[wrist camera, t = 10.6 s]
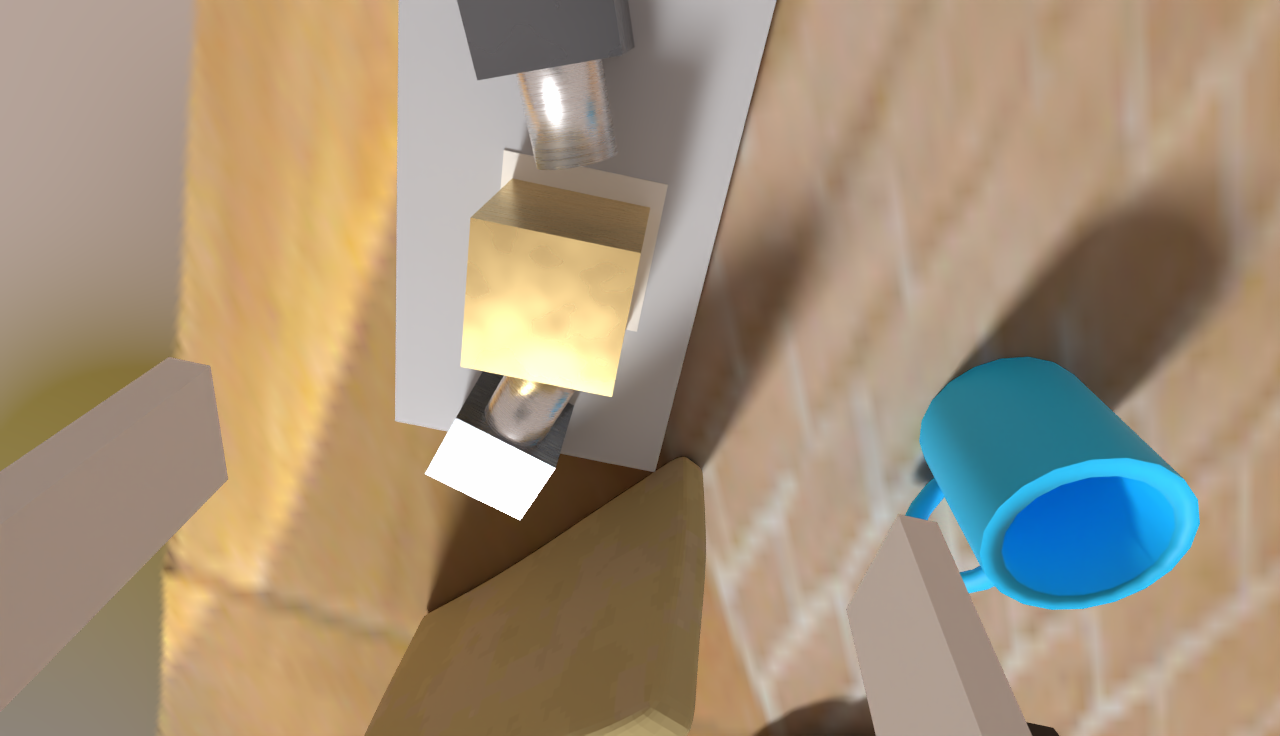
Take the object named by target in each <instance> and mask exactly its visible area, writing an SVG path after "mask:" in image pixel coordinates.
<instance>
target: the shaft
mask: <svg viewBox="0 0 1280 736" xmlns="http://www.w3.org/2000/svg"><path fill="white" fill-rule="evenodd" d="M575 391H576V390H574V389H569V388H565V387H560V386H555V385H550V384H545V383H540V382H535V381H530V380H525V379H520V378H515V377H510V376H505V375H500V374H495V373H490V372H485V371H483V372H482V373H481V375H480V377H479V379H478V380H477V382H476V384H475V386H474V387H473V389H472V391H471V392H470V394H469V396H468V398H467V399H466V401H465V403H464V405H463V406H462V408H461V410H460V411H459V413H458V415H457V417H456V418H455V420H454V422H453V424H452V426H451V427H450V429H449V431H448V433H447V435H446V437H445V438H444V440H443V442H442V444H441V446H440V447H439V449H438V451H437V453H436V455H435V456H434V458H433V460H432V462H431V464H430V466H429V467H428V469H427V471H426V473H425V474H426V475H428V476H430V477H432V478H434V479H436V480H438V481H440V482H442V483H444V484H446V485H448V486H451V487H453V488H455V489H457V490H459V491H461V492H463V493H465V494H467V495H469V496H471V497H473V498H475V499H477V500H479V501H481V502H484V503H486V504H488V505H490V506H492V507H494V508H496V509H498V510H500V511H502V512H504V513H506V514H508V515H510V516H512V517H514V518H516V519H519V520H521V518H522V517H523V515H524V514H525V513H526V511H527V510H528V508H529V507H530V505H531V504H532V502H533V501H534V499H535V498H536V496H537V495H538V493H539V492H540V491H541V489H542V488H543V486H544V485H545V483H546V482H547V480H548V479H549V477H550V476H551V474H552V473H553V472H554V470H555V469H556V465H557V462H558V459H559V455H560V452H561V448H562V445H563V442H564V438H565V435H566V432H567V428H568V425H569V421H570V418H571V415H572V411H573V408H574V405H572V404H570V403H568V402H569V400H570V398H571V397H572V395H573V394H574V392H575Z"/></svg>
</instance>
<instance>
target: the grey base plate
mask: <svg viewBox="0 0 1280 736" xmlns="http://www.w3.org/2000/svg"><path fill="white" fill-rule="evenodd" d="M628 4H629V10H630V17H631V24H632V31H633V38H634V45H635V47H634V48H633V49H631V50H630V51H628V52H627V53H625V54H623V55H621V56H615V57H609V58H603V59H602V64H603V69H604V75H605V81H606V87H607V93H608V99H609V105H610V111H611V117H612V123H613V128H614V134H615V140H616V146H617V152H618V153H617V154H616V155H615V156H613V157H611V158H609V159H607V160H604V161H601V162H597V163H593V164H589V165H585V166H580V167H575V168H568V169H560V170H540V169H537V167H536V162H535V158H534V154H533V149H532V145H531V140H530V136H529V132H528V127H527V123H526V119H525V114H524V110H523V105H522V101H521V97H520V92H519V88H518V83H517V79H516V75H515V74H512V75H506V76H500V77H494V78H489V79H483V80H477V77H476V73H475V70H474V66H473V62H472V58H471V54H470V50H469V46H468V42H467V38H466V34H465V30H464V26H463V22H462V18H461V15H460V11H459V7H458V3H457V0H399V27H398V147H397V266H396V385H395V421H398V422H403V423H408V424H413V425H418V426H423V427H428V428H433V429H438V430H443V431H449V429H450V427H451V426H452V424H453V422H454V420H455V418H456V417H457V415H458V413H459V411H460V410H461V408H462V406H463V405H464V403H465V401H466V399H467V398H468V396H469V394H470V392H471V391H472V389H473V387H474V386H475V384H476V382H477V380H478V379H479V377H480V375H481V373H482V372H483V371H480V370H475V369H470V368H465V367H461V353H462V337H463V322H464V307H465V292H466V277H467V261H468V246H469V231H470V217H472V216H473V215H474V214H475V213H476V212H477V211H478V210H479V209H480V208H481V207H482V206H483V205H484V204H485V203H486V202H488V201H489V200H490V199H491V198H492V197H493V196H494V195H495V194H496V193H497V192H498V191H499V190H500V189H501V188H503V187H504V186H505V185H506V184H507V183H508V182H509V181H510V180H511V179H512V178H513V179H518V180H522V181H527V182H532V183H536V184H541V185H546V186H551V187H555V188H560V189H565V190H570V191H574V192H579V193H584V194H588V195H593V196H598V197H603V198H607V199H612V200H617V201H622V202H626V203H631V204H636V205H640V206H645V207H650V212H649V217H648V222H647V227H646V232H645V237H644V242H643V246H642V251H641V256H640V261H639V266H638V271H637V276H636V281H635V286H634V291H633V296H632V301H631V306H630V311H629V316H628V320H627V325H626V330H625V335H624V340H623V345H622V350H621V355H620V360H619V364H618V369H617V374H616V379H615V384H614V389H613V394H612V397H609V396H604V395H599V394H594V393H589V392H584V391H579V390H576V391H575V392H574V394H573V395H572V397H571V398H570V400H569V402H568V403H570V404H572V405H574V408H573V411H572V415H571V418H570V421H569V425H568V428H567V432H566V435H565V438H564V442H563V445H562V448H561V452H560V454H565V455H570V456H575V457H580V458H585V459H590V460H595V461H600V462H605V463H610V464H615V465H620V466H626V467H631V468H636V469H641V470H646V471H651V472H655V470H656V466H657V462H658V459H659V455H660V451H661V447H662V443H663V439H664V435H665V431H666V427H667V424H668V420H669V416H670V412H671V408H672V404H673V400H674V396H675V392H676V389H677V385H678V381H679V377H680V373H681V369H682V365H683V361H684V358H685V354H686V350H687V346H688V342H689V338H690V334H691V330H692V326H693V323H694V319H695V315H696V311H697V307H698V303H699V299H700V295H701V291H702V288H703V284H704V280H705V276H706V272H707V268H708V264H709V260H710V256H711V253H712V249H713V245H714V241H715V237H716V233H717V229H718V225H719V222H720V218H721V214H722V210H723V206H724V202H725V198H726V194H727V190H728V187H729V183H730V179H731V175H732V171H733V167H734V163H735V159H736V155H737V152H738V148H739V144H740V140H741V136H742V132H743V128H744V124H745V121H746V117H747V113H748V109H749V105H750V101H751V97H752V93H753V89H754V86H755V82H756V78H757V74H758V70H759V66H760V62H761V58H762V54H763V51H764V47H765V43H766V39H767V35H768V31H769V27H770V23H771V20H772V16H773V12H774V8H775V4H776V0H628Z"/></svg>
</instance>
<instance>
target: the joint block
mask: <svg viewBox="0 0 1280 736" xmlns="http://www.w3.org/2000/svg"><path fill="white" fill-rule="evenodd" d="M649 212H650V207H645V206H640V205H636V204H631V203H626V202H622V201H617V200H612V199H607V198H603V197H598V196H593V195H588V194H584V193H579V192H574V191H570V190H565V189H560V188H555V187H551V186H546V185H541V184H536V183H532V182H527V181H522V180H518V179H513V178H512V179H511V180H510V181H509V182H508V183H507V184H506V185H505V186H504V187H503V188H501V189H500V190H499V191H498V192H497V193H496V194H495V195H494V196H493V197H492V198H491V199H490V200H489V201H488V202H486V203H485V204H484V205H483V206H482V207H481V208H480V209H479V210H478V211H477V212H476V213H475V214H474V215H473V216H472V217H470V231H469V246H468V261H467V277H466V292H465V307H464V322H463V337H462V353H461V367H465V368H470V369H475V370H480V371H485V372H490V373H495V374H500V375H505V376H510V377H515V378H520V379H525V380H530V381H535V382H540V383H545V384H550V385H555V386H560V387H565V388H569V389H574V390H579V391H584V392H589V393H594V394H599V395H604V396H609V397H612V394H613V389H614V384H615V379H616V374H617V369H618V364H619V360H620V355H621V350H622V345H623V340H624V335H625V330H626V325H627V320H628V316H629V311H630V306H631V301H632V296H633V291H634V286H635V281H636V276H637V271H638V266H639V261H640V256H641V251H642V246H643V242H644V237H645V232H646V227H647V222H648V217H649Z"/></svg>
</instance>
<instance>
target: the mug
mask: <svg viewBox="0 0 1280 736" xmlns="http://www.w3.org/2000/svg"><path fill="white" fill-rule="evenodd" d="M920 445H921V448H922V451H923V454H924V458H925V460H926V462H927V464H928V466H929V468H930V470H931V472H932V474H933V476H934V478H933V479H932V480H931V481H930V482H928V483H927V484H926V485H925V487H924V488H923V489H922V491H921V492H920V493H919V494H918V496H917V497H916V498H915V499H914V501H913V502H912V503H911V505H910V507H909V509H908V511H907V513H906V514H905V516H910V517H914V518H919V519H924V520H928V518H929V516H930V514H931V513H932V512H933V510H934V509H935V508H936V507H937V505H938V504H939V503H940V502H941V500H942V499H943V498H944V497H945V499H946V501H947V503H948V504H949V506H950V508H951V510H952V512H953V514H954V516H955V518H956V520H957V522H958V524H959V526H960V527H961V529H962V531H963V533H964V535H965V537H966V539H967V541H968V543H969V545H970V547H971V548H972V550H973V552H974V554H975V556H976V558H977V560H978V562H979V564H980V566H979V567H977V568H975V569H973V570H968V571H964V572H960V575H961V577H962V579H963V582H964V584H965V586H966V588H967V591H968V593H973V592H977V591H982V590H987V589H989V588H991V587H993V586H995V587H996V588H997V589H998V590H999V591H1000V592H1001V593H1003V594H1005V595H1007V596H1009V597H1011V598H1013V599H1015V600H1017V601H1018V602H1020V603H1022V604H1026V605H1031V606H1036V607H1041V608H1046V609H1051V610H1055V609H1084V608H1089V607H1093V606H1098V605H1102V604H1107V603H1111V602H1115V601H1118V600H1120V599H1122V598H1125V597H1127V596H1129V595H1132V594H1134V593H1136V592H1138V591H1141V590H1143V589H1145V588H1147V587H1148V586H1150V585H1151V584H1152V583H1154V582H1155V581H1157V580H1158V579H1160V578H1161V577H1162V576H1164V575H1165V574H1167V573H1168V572H1169V571H1171V570H1172V569H1173V568H1174V567H1175V565H1176V564H1177V563H1178V562H1179V561H1180V559H1181V558H1182V557H1183V556H1184V555H1185V554H1186V552H1187V551H1188V550H1189V549H1190V548H1191V545H1192V542H1193V540H1194V537H1195V535H1196V532H1197V529H1198V527H1199V524H1200V520H1199V508H1198V499H1197V498H1196V496H1195V495H1194V493H1193V492H1192V490H1191V489H1190V487H1189V486H1188V484H1187V483H1186V481H1185V480H1184V479H1183V478H1182V477H1181V476H1180V475H1179V474H1178V473H1177V472H1176V471H1175V470H1174V469H1173V468H1172V467H1171V466H1170V465H1169V464H1167V463H1166V462H1165V461H1164V460H1163V459H1162V458H1161V457H1160V456H1159V455H1158V454H1157V453H1156V452H1155V451H1154V450H1153V449H1152V448H1151V447H1150V446H1149V445H1147V444H1146V443H1145V442H1144V441H1143V440H1142V439H1141V438H1140V437H1139V436H1138V435H1137V434H1136V433H1135V432H1134V431H1133V430H1132V429H1131V428H1130V427H1129V426H1127V425H1126V424H1125V423H1124V422H1123V421H1122V420H1121V419H1120V418H1119V417H1118V416H1117V415H1116V414H1115V413H1114V412H1113V411H1112V410H1111V409H1110V408H1109V407H1107V406H1106V405H1105V404H1104V403H1103V402H1102V401H1101V400H1100V399H1099V398H1098V397H1097V396H1096V395H1095V394H1094V393H1093V392H1092V391H1091V390H1090V389H1089V388H1087V387H1086V386H1085V385H1084V384H1083V383H1082V382H1081V381H1080V380H1079V379H1078V378H1077V377H1076V376H1075V375H1074V374H1072V373H1071V372H1069V371H1067V370H1066V369H1064V368H1063V367H1061V366H1059V365H1058V364H1056V363H1054V362H1051V361H1046V360H1041V359H1037V358H1032V357H1017V358H1001V359H998V360H995V361H992V362H988V363H985V364H982V365H979V366H976V367H973V368H972V369H970V370H968V371H967V372H965V373H963V374H962V375H960V376H959V377H957V378H955V379H954V380H952V381H950V382H949V383H948V384H947V385H946V386H945V387H944V388H943V389H942V391H941V392H940V393H939V394H938V395H937V396H936V397H935V398H934V399H933V400H932V401H931V403H930V405H929V407H928V409H927V411H926V413H925V415H924V417H923V419H922V423H921V432H920Z"/></svg>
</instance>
